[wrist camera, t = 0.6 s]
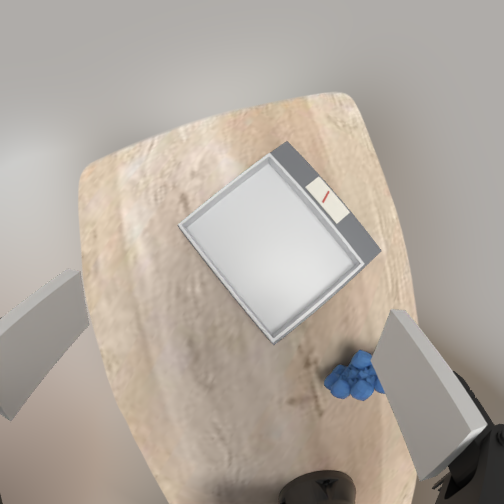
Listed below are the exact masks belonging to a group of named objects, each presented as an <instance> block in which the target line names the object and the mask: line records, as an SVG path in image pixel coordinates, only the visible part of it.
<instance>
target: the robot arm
mask: <svg viewBox="0 0 504 504" xmlns="http://www.w3.org/2000/svg"><path fill="white" fill-rule="evenodd" d="M88 326H89V320H88V314H87V309H86V304H85V297H84V291H83V285H82V278H81V272H80V271H78V270H73V269H66V270H65V271H63V272H62V273H61V274H59V275H58V276H56V277H55V278H53V279H52V280H51V281H49V282H48V283H46V284H45V285H44V286H42V287H41V288H39V289H38V290H37V291H35V292H34V293H33V294H31V295H30V296H29V297H27V298H26V299H25V300H23V301H22V302H21V303H20V304H18V305H17V306H16V307H15V308H13V309H12V310H11V311H9V312H8V313H7V314H6V315H4V316H3V317H1V318H0V414H1V415H3V416H4V417H5V418H7V419H8V420H10V421H12V420H13V418H14V417H15V416H16V414H17V413H18V412H19V410H20V409H21V407H22V406H23V404H24V403H25V402H26V401H27V399H28V398H29V397H30V395H31V394H32V393H33V391H34V390H35V389H36V388H37V386H38V385H39V384H40V383H41V381H42V380H43V379H44V377H45V376H46V375H47V374H48V373H49V371H50V370H51V369H52V368H53V366H54V365H55V364H56V363H57V361H58V360H59V359H60V358H61V357H62V356H63V354H64V353H65V352H66V351H67V350H68V348H69V347H70V346H71V345H72V344H73V343H74V342H75V340H76V339H77V338H78V337H79V336H80V334H81V333H82V332H83V331H84V330H85V329H86V328H87V327H88ZM370 361H371V363H372V365H373V367H374V369H375V372H376V374H377V376H378V378H379V380H380V383H381V385H382V387H383V389H384V392H385V394H386V396H387V398H388V401H389V403H390V405H391V408H392V410H393V413H394V415H395V417H396V420H397V422H398V425H399V427H400V430H401V432H402V435H403V437H404V440H405V442H406V445H407V447H408V450H409V453H410V455H411V458H412V461H413V463H414V466H415V469H416V472H417V474H418V477H419V480H420V481H423V480H426V479H429V478H432V477H434V476H437V475H438V474H439V473H441V472H442V471H443V470H444V469H445V468H446V467H447V466H448V467H449V470H450V472H449V473H448V474H446V475H445V476H444V477H443V478H442V479H441V480H439V481H438V482H437V483H436V484H435V485H434V486H433V488H432V489H435V488H437V487H438V486H439V485H441V484H442V483H443V484H442V487H440V488H439V489H438V491H440V493H439V495H438V498H437V500H436V503H435V504H504V424H498V425H494V424H493V422H492V421H491V419H490V418H489V416H488V414H487V413H486V411H485V410H484V408H483V407H482V405H481V404H480V402H479V401H478V399H477V398H475V395H474V393H473V392H472V390H470V388H469V386H468V385H467V383H466V382H465V380H464V379H463V378H462V377H461V376H459V375H458V374H457V373H456V372H455V371H452V370H451V369H450V367H449V366H448V364H447V363H446V362H445V360H444V359H443V358H442V356H441V355H440V354H439V352H438V351H437V350H436V348H435V347H434V346H433V344H432V343H431V342H430V340H429V339H428V338H427V336H426V335H425V334H424V333H423V331H422V330H421V329H420V328H419V326H418V325H417V324H416V323H415V321H414V320H413V319H412V318H411V316H410V315H409V314H408V313H407V312H406V310H394V309H391V310H390V313H389V316H388V318H387V321H386V324H385V326H384V329H383V332H382V334H381V337H380V339H379V342H378V344H377V346H376V349H375V351H374V354H373V356H372V358H371V360H370ZM355 496H356V489H355V486H354V483H353V481H352V479H351V478H350V477H349V476H348V475H346V474H344V473H341V472H337V471H319V472H314V473H310V474H306V475H304V476H301V477H299V478H297V479H295V480H293V481H292V482H290V483H289V484H287V485H286V486H285V487H284V488H283V490H282V491H281V493H280V495H279V504H355ZM0 504H3V503H2V499H1V495H0Z"/></svg>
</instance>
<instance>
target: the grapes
mask: <svg viewBox="0 0 504 504" xmlns="http://www.w3.org/2000/svg"><path fill="white" fill-rule="evenodd" d="M371 358H372V355H371V354H370V353H367V352H365V351H362V350H359V351H358V352H357V353H356V354H355V355H354V356H353V358H352V359H351V362H350V364H349V365H348V367H346V366H344V365H340V364H339V365H338V366H337V367H335V368H334V370H333V371H332V373H331V374H330V375H328V376H327V377H326V379H325V380H324V386H325V387H326V388H327V389H329V390H331V394H332V395H333V396H335V397H337V398H340V399H345V398H347V397H348V396H349V395H350V394H351V395H352V397H353V398H355V399H357V400H362V401H364V400H366V399H367V398H369V397H370V396H371V395H372V393H373V392H374V389H375V391H377V392H379V393H383V394H385V392H384V389H383V387H382V385H381V383H380V380H379V378H378V376H377V374H376V372H375V369H374V367H373V365H372V363H371V361H370V360H371Z"/></svg>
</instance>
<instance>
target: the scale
mask: <svg viewBox="0 0 504 504" xmlns="http://www.w3.org/2000/svg"><path fill="white" fill-rule="evenodd" d="M178 227H179V229H180V230H181V231H182V232H183V234H184V235H185V236H186V238H187V239H188V240H189V242H190V243H191V244H192V246H193V247H194V248H195V249H196V251H197V252H198V253H199V255H200V256H201V257H202V258H203V260H204V261H205V262H206V264H207V265H208V266H209V267H210V269H211V270H212V271H213V272H214V274H215V275H216V276H217V277H218V279H219V280H220V281H221V282H222V284H223V285H224V286H225V287H226V289H227V290H228V291H229V292H230V294H231V295H232V296H233V297H234V299H235V300H236V301H237V302H238V303H239V305H240V306H241V307H242V308H243V309H244V311H245V312H246V313H247V314H248V316H249V317H250V318H251V319H252V320H253V322H254V323H255V324H256V325H257V326H258V327H259V329H260V330H261V331H262V332H263V333H264V335H265V336H266V337H267V338H268V339H269V340H270V342H271V343H272V344H273V345H275V344H276V343H277V342H279V341H280V340H281V339H282V338H284V337H285V336H286V335H287V334H289V333H290V332H291V331H292V330H294V329H295V328H296V327H297V326H299V325H300V324H301V323H302V322H303V321H305V320H306V319H307V318H308V317H309V316H311V315H312V314H313V313H314V312H315V311H316V310H318V309H319V308H320V307H321V306H322V305H323V304H325V303H326V302H327V301H328V300H329V299H330V298H331V297H333V296H334V295H335V294H336V293H337V292H338V291H339V290H340V289H342V288H343V287H344V286H345V285H346V284H347V283H348V282H349V281H350V280H351V279H353V278H354V277H355V276H356V275H357V274H358V273H359V272H360V271H361V270H362V269H363V268H364V267H365V266H366V265H367V264H369V263H370V262H371V261H372V260H373V259H374V258H375V257H376V256H377V255H378V254H379V253H380V252H381V249H380V248H379V247H378V245H377V244H376V243H375V241H374V240H373V239H372V237H371V236H370V235H369V234H368V232H367V231H366V230H365V229H364V227H363V226H362V225H361V223H360V222H359V221H358V220H357V219H356V217H355V216H354V215H353V214H352V212H351V211H350V210H349V209H348V208H347V206H346V205H345V204H344V203H343V202H342V200H341V199H340V198H339V197H338V196H337V195H336V193H335V192H334V191H333V190H332V189H331V188H330V187H329V185H328V184H327V183H326V182H325V181H324V180H323V179H322V178H321V176H320V175H319V174H318V173H317V172H316V171H315V170H314V169H313V168H312V167H311V165H310V164H309V163H308V162H307V161H306V160H305V159H304V158H303V157H302V156H301V155H300V154H299V153H298V152H297V151H296V150H295V149H294V148H293V147H292V146H291V144H290V143H289V142H288V141H286V142H285V143H283V144H282V145H280V146H279V147H278V148H276V149H275V150H273V151H272V152H271V153H268V154H267V155H266V156H264V157H263V158H262V159H260V160H259V161H258V162H256V163H255V164H254V165H252V166H251V167H249V168H248V169H247V170H246V171H244V172H243V173H242V174H240V175H239V176H238V177H236V178H235V179H234V180H232V181H231V182H230V183H229V184H227V185H226V186H225V187H223V188H222V189H221V190H220V191H218V192H217V193H216V194H215V195H213V196H212V197H211V198H210V199H208V200H207V201H206V202H205V203H203V204H202V205H201V206H200V207H198V208H197V209H196V210H195V211H194V212H192V213H191V214H190V215H189V216H187V217H186V218H185V219H184V220H183V221H182V222H180V223H179V224H178Z"/></svg>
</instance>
